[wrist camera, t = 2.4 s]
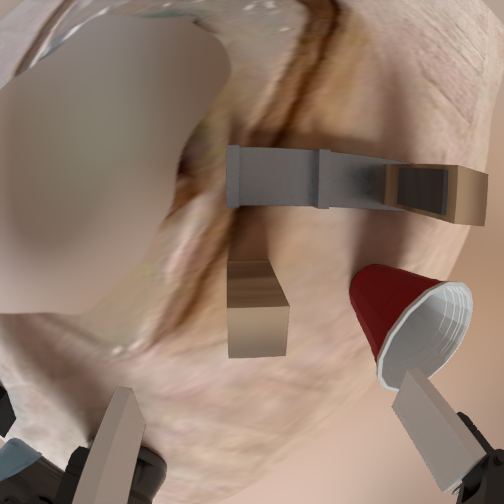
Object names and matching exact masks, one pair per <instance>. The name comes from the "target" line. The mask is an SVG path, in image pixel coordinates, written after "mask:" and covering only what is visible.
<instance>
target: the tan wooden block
mask: <svg viewBox="0 0 504 504" xmlns="http://www.w3.org/2000/svg"><path fill="white" fill-rule="evenodd" d="M289 310H290V306H289V303H288V301H287V299H286V297H285V295H284V292H283V290H282V288H281V286H280V284H279V282H278V279H277V277H276V275H275V273H274V271H273V269H272V266H271V264H270V262H269V260H227V329H228V355H229V358H256V357H275V356H286V346H287V335H288V323H289Z"/></svg>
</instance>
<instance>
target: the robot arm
mask: <svg viewBox="0 0 504 504" xmlns="http://www.w3.org/2000/svg"><path fill="white" fill-rule="evenodd" d="M392 408H393V410H394V411H395V413H396V415H397V416H398V418H399V419H400V421H401V423H402V424H403V426H404V428H405V429H406V431H407V433H408V434H409V436H410V438H411V439H412V441H413V443H414V444H415V446H416V448H417V449H418V451H419V453H420V454H421V456H422V458H423V459H424V461H425V463H426V465H427V466H428V468H429V470H430V471H431V473H432V475H433V477H434V479H435V480H436V482H437V484H438V486H439V488H440V489H441V491H442V493H444V492H445V491H447V490H449V489H450V488H452V487H454V486H455V485H456V484H457V483H458V482H459V481H460V480H462V483H461V484H460V485H459V486H458V487H457V488H456V489H455V490H454V491H453V493H452V495H454V494H455V493H456V492H457V491H458V490H459V492H458V493H457V494H456V495H458V498H457V503H456V504H504V450H502V449H496V450H494V449H493V448H492V447H491V446H490V444H489V443H488V442H487V440H486V439H485V438H484V436H483V435H482V434H481V433H480V431H479V430H477V427H476V426H475V425H473V422H472V421H471V420H470V419H469V417H468V416H466V415H465V414H463V413H462V412H458V413H455V411H454V410H453V409H452V407H451V406H450V405H449V404H448V402H447V401H446V400H445V399H444V398H443V396H442V395H441V394H440V393H439V391H437V389H436V388H435V387H434V385H433V384H432V383H431V382H430V381H429V379H428V378H427V377H426V376H425V375H424V373H423V372H422V371H421V370H420V369H419V368H414V369H410V370H407V372H406V374H405V377H404V379H403V382H402V384H401V387H400V389H399V391H398V394H397V396H396V398H395V400H394V402H393V405H392ZM144 429H145V422H144V420H143V417H142V415H141V412H140V409H139V407H138V404H137V401H136V398H135V396H134V393H133V390H132V388H125V387H118V386H117V387H116V390H115V392H114V394H113V396H112V399H111V401H110V403H109V406H108V408H107V410H106V413H105V415H104V417H103V420H102V422H101V425H100V427H99V430H98V432H97V435H96V437H94V438H92V439H91V440H90V442H89V445H88V447H87V448H85V447H81V446H79V447H78V448H77V449H76V450H75V451H74V452H73V453H72V454H71V457H70V459H69V462H68V465H67V467H66V469H65V471H63V470H62V469H60V468H59V467H57V466H56V465H54V464H53V463H52V462H50V461H49V460H47V459H46V458H45V457H43V456H42V454H41V453H40V452H37V451H36V450H34V449H33V448H32V447H30V446H29V445H28V444H26V443H25V442H24V441H22V440H20V439H18V438H12V439H10V440H9V441H8V442H7V443H6V444H5V445H4V446H3V447H2V448H1V449H0V504H152V500H153V498H154V497H155V495H156V493H157V492H158V490H159V489H160V487H161V485H162V484H163V482H164V480H165V478H166V472H167V466H166V464H165V462H164V461H163V460H162V459H161V458H160V457H159V456H157V455H156V454H154V453H153V452H151V451H150V450H148V449H146V448H144V447H142V446H140V444H141V441H142V437H143V433H144Z"/></svg>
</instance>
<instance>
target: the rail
mask: <svg viewBox="0 0 504 504" xmlns="http://www.w3.org/2000/svg"><path fill="white" fill-rule="evenodd" d="M239 146H240V145H227V161H226V208H239V205H263V206H313V207H315V208H318V209H329V207H342V208H362V209H380V210H395V211H407V210H403V209H399V208H395V207H391V206H387V205H384V199H385V179H386V164H412V163H407V162H401V161H395V160H389V159H383V158H376V157H369V156H362V155H354V154H346V153H337V152H331V150H327V149H317V150H302V149H285V148H260V147H239ZM408 212H411V211H408Z"/></svg>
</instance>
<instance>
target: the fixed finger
mask: <svg viewBox="0 0 504 504" xmlns="http://www.w3.org/2000/svg"><path fill="white" fill-rule="evenodd" d="M487 190H488V174H485V173H482V172H479V171H476V170H472V169H469V168H466V167H462V166H459V165H440V164H386V179H385V199H384V205H387V206H391V207H395V208H399V209H403V210H407V211H411V212H415V213H418V214H422V215H426V216H429V217H433V218H436V219H440V220H443V221H446V222H450V223H453V224H463V225H476V226H484V224H485V215H486V204H487Z"/></svg>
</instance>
